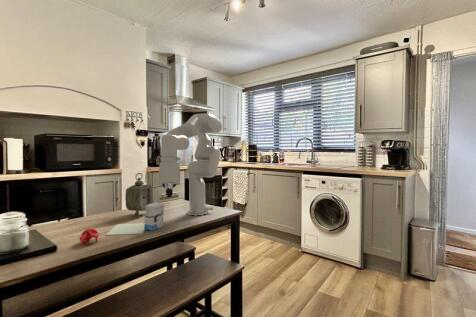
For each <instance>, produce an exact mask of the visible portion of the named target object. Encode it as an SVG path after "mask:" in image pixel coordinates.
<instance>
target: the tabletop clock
mask: <svg viewBox="0 0 476 317" xmlns="http://www.w3.org/2000/svg"><path fill="white" fill-rule="evenodd" d="M138 175H141V178H140V177H138V178H137V176H138ZM135 179H136V181H135V182H134V185H131V186H128V187H127V188H126V189H125V208H126V209H127V210H129V211H135V212H134V216H136V218H138V219H139V218H140V217H141V216H140V214H139V213H140V212H143V211H146V205H148V204H151V203H153V189H152V184H144V181H142V179H143V173H141V172H138V173H136V174H135Z"/></svg>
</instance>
